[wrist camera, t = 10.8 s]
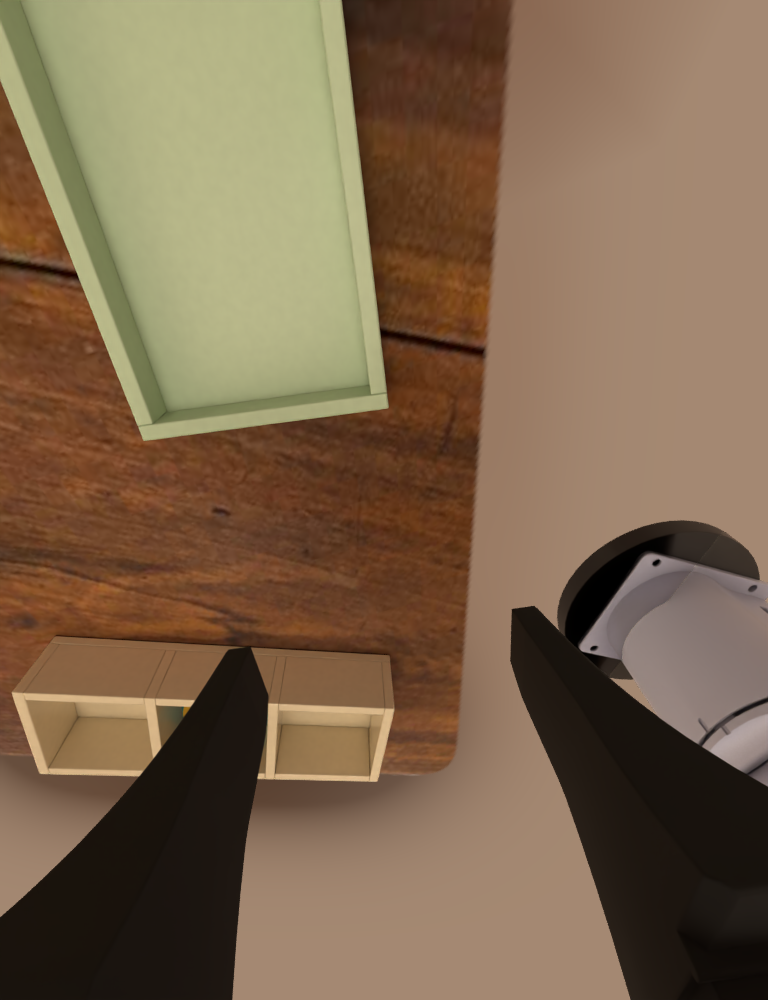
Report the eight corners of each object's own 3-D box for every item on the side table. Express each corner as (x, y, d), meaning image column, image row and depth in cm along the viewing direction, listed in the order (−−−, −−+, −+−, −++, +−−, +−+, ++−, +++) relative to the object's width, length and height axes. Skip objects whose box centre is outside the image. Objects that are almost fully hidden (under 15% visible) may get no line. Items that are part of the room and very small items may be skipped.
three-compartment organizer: (389, 654, 26) (395, 709, 23) (375, 725, 29) (377, 782, 26) (54, 635, 24) (10, 692, 21) (75, 713, 27) (39, 774, 24)
